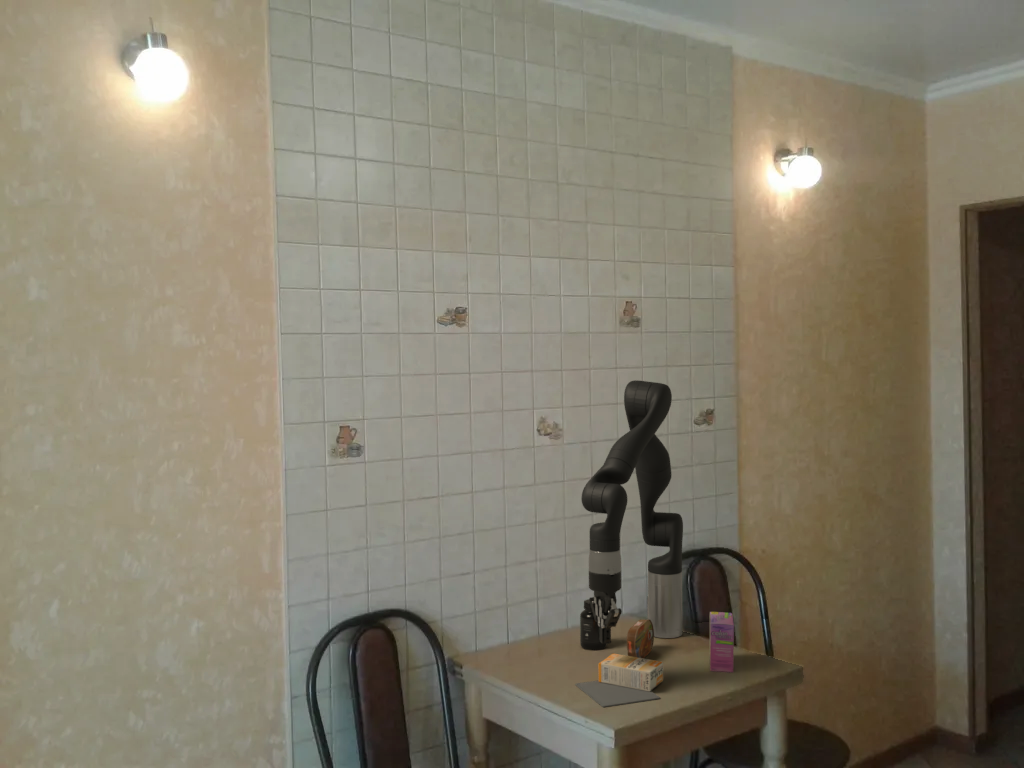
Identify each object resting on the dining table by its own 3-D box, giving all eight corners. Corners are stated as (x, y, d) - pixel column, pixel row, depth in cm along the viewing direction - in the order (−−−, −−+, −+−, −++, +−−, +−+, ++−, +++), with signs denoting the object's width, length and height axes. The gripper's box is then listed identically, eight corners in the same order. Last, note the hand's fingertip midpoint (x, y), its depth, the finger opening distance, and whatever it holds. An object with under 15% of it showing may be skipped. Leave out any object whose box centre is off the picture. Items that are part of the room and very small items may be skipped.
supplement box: (611, 651, 224) (663, 660, 218) (612, 671, 224) (663, 681, 218) (597, 662, 217) (650, 671, 211) (597, 682, 217) (650, 692, 211)
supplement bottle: (574, 646, 245) (574, 601, 245) (592, 641, 250) (592, 596, 250) (594, 652, 240) (593, 606, 240) (611, 646, 245) (611, 601, 245)
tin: (636, 665, 230) (636, 631, 230) (624, 663, 232) (624, 630, 231) (655, 648, 244) (655, 616, 243) (643, 646, 245) (643, 614, 245)
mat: (575, 684, 217) (575, 683, 217) (629, 677, 222) (629, 676, 222) (603, 707, 203) (603, 706, 203) (660, 698, 207) (660, 697, 207)
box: (734, 673, 224) (733, 624, 224) (709, 671, 225) (709, 623, 225) (732, 659, 234) (732, 612, 234) (709, 658, 235) (709, 611, 235)
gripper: (578, 564, 222) (578, 636, 222) (602, 576, 209) (602, 653, 210) (607, 561, 224) (607, 633, 225) (632, 573, 212) (632, 649, 212)
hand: (605, 642), depth 217 cm, fingers closed
